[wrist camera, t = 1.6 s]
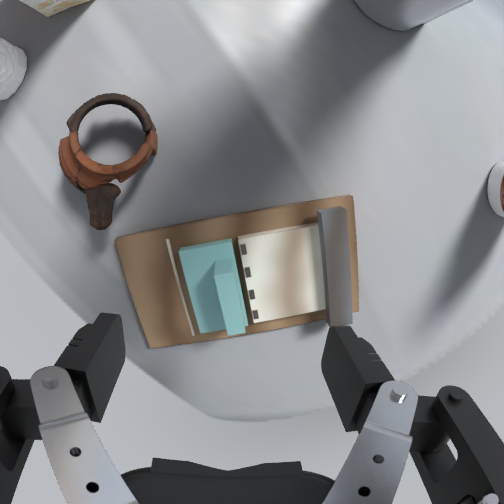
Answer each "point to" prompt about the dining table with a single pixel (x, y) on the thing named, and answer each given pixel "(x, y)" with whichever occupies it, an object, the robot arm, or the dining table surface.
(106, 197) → the pottery mug
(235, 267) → the stub
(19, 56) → the white cup
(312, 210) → the ticket holder
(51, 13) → the coffeecake box
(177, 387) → the dining table surface
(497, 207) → the milk bottle
